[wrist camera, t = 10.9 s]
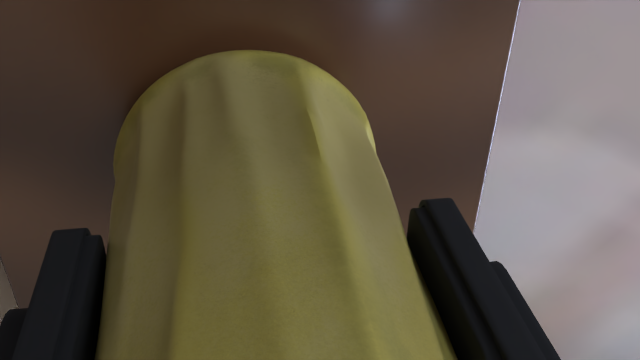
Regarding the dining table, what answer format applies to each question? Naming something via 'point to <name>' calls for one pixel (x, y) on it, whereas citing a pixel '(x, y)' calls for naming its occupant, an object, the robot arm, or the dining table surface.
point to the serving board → (228, 35)
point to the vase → (258, 224)
